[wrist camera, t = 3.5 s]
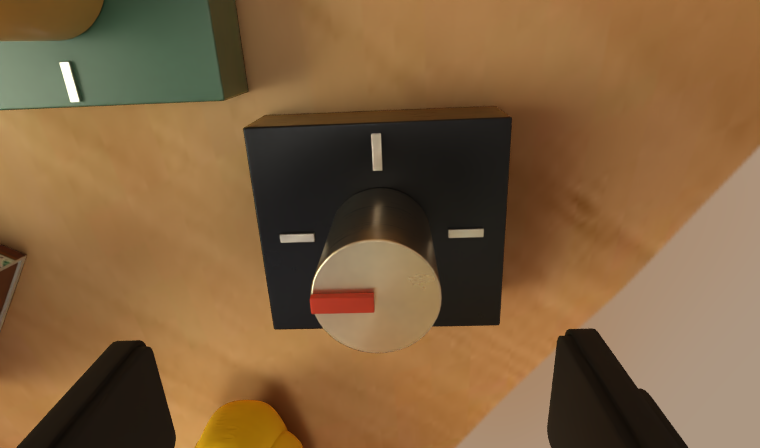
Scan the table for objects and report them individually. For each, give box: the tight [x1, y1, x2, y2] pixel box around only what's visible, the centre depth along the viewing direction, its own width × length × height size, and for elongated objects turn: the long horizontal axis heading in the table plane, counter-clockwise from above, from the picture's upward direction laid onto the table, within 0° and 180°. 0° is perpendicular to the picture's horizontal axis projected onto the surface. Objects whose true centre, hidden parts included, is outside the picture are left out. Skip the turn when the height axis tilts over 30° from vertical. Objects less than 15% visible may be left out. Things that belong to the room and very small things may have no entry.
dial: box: [310, 188, 442, 353], centre depth 16 cm, size 4×4×5 cm
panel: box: [243, 106, 512, 329], centre depth 20 cm, size 10×9×3 cm
